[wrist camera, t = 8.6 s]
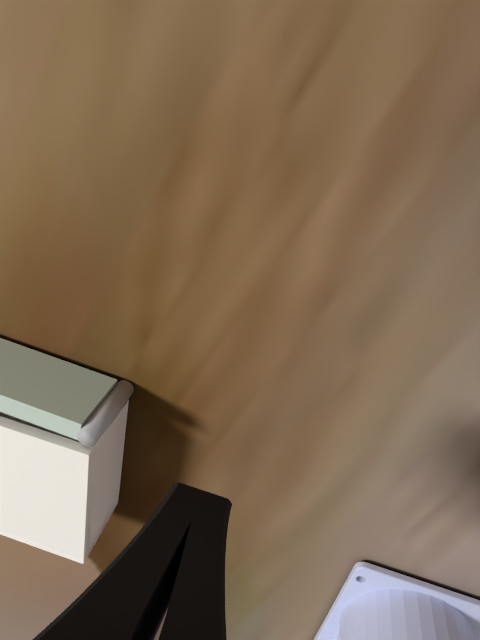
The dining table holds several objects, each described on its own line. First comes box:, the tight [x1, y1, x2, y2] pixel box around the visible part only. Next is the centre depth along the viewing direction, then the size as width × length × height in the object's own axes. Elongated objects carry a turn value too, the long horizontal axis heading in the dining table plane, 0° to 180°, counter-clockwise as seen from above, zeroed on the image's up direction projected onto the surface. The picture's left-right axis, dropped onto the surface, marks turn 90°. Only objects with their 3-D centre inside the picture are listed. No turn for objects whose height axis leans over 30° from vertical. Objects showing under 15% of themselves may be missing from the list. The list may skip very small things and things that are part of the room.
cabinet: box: [0, 400, 129, 564], centre depth 24 cm, size 8×11×4 cm
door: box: [0, 338, 134, 447], centre depth 21 cm, size 1×11×4 cm, turn 76°
